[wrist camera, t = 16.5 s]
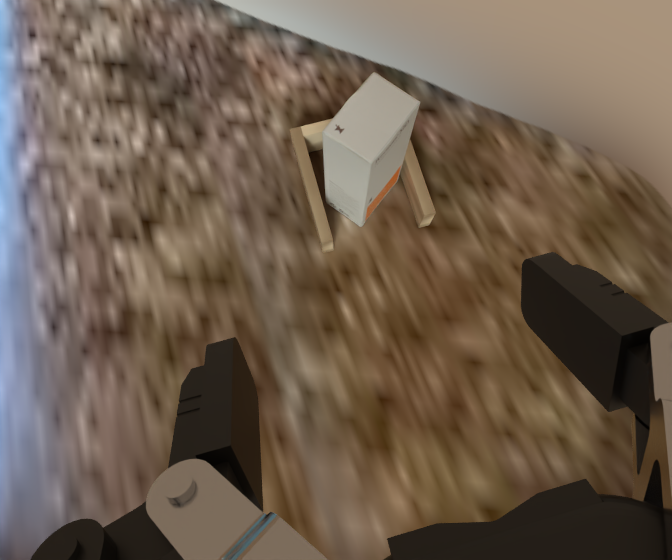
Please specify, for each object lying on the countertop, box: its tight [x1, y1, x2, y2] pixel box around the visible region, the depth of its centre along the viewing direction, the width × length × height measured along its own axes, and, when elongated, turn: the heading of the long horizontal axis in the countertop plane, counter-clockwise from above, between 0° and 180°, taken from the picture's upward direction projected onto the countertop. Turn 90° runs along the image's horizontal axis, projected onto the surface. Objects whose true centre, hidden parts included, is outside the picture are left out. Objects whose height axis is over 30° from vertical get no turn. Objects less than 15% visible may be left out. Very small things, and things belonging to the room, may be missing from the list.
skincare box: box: [322, 72, 420, 227], centre depth 36 cm, size 6×4×12 cm
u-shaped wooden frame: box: [290, 119, 436, 253], centre depth 41 cm, size 10×11×3 cm
